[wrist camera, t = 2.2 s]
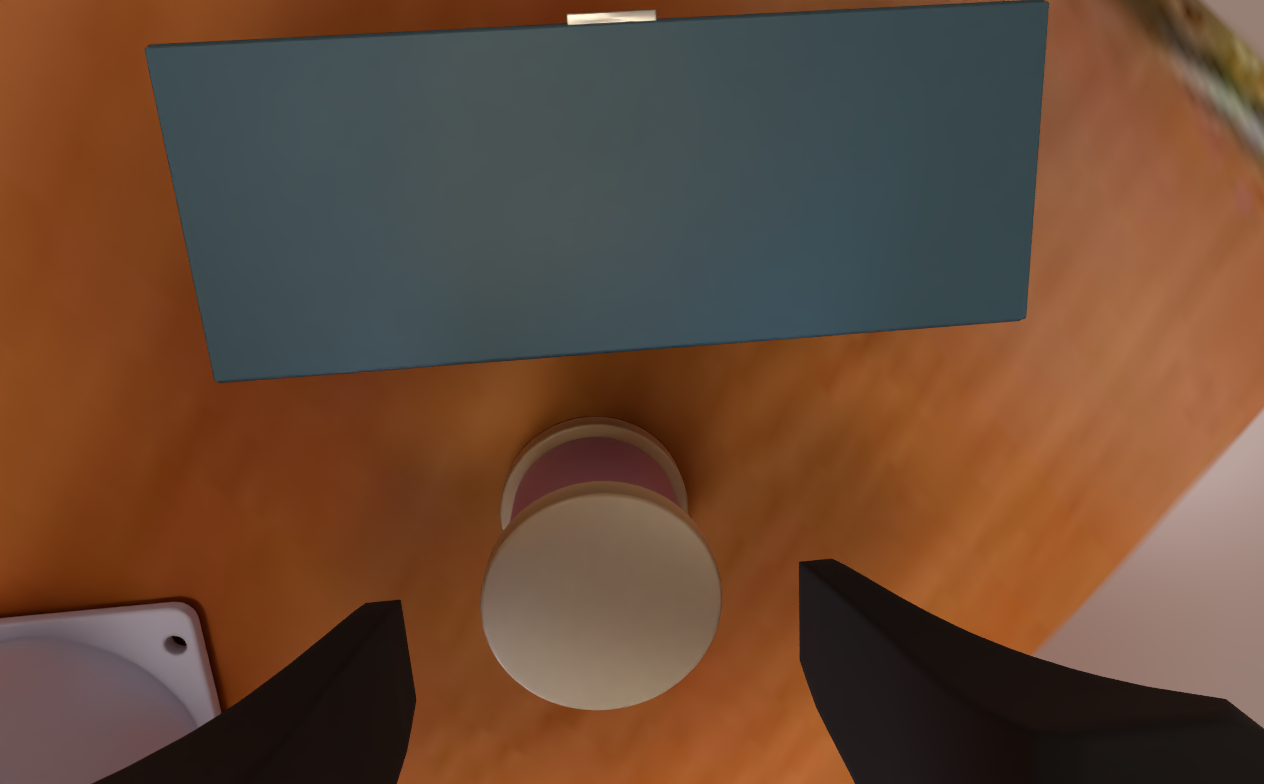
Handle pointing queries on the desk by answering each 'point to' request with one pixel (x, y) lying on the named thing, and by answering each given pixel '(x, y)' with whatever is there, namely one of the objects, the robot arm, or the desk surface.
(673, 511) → the spool
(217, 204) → the pencil box
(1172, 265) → the desk surface
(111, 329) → the desk surface
